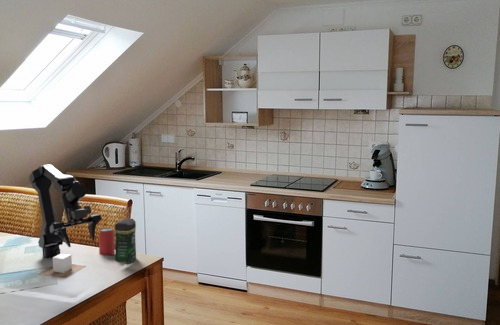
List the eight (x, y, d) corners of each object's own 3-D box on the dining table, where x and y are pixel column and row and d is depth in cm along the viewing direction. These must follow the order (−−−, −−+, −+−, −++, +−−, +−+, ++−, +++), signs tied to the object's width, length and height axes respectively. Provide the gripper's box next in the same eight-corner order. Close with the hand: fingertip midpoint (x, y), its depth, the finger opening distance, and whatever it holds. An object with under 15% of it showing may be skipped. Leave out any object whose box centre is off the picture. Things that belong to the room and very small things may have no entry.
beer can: (110, 258, 201) (109, 232, 199) (96, 256, 202) (95, 230, 200) (117, 253, 207) (116, 227, 206) (104, 251, 209) (103, 226, 207)
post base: (37, 277, 179) (37, 266, 178) (59, 265, 191) (59, 255, 190) (66, 281, 175) (65, 270, 175) (86, 269, 188) (86, 259, 187)
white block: (53, 271, 181) (52, 257, 180) (61, 266, 186) (60, 253, 185) (63, 272, 180) (63, 258, 179) (71, 268, 185) (71, 254, 184)
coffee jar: (130, 265, 193) (129, 223, 190) (112, 264, 194) (111, 222, 191) (138, 257, 202) (138, 217, 199) (121, 256, 203) (120, 216, 200)
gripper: (52, 204, 167) (63, 244, 163) (101, 195, 179) (111, 232, 175) (45, 213, 175) (55, 252, 171) (92, 204, 187) (102, 240, 184)
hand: (81, 244), depth 175 cm, fingers open, 9 cm apart
